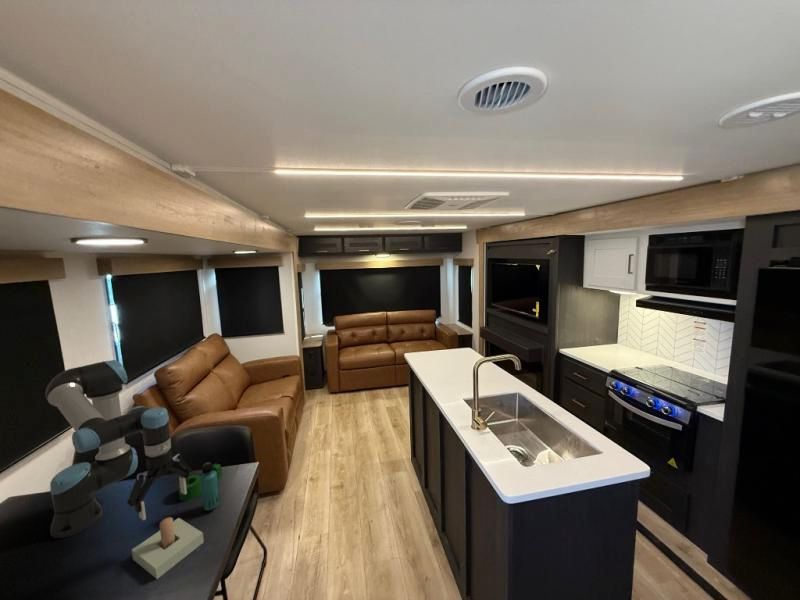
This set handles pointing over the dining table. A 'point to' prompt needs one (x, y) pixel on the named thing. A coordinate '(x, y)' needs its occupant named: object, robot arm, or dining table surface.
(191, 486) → the slotted cylinder bracket
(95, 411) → the robot arm
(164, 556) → the socket board
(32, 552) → the dining table surface
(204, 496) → the beverage bottle
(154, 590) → the dining table surface
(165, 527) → the peg
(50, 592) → the dining table surface
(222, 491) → the dining table surface
